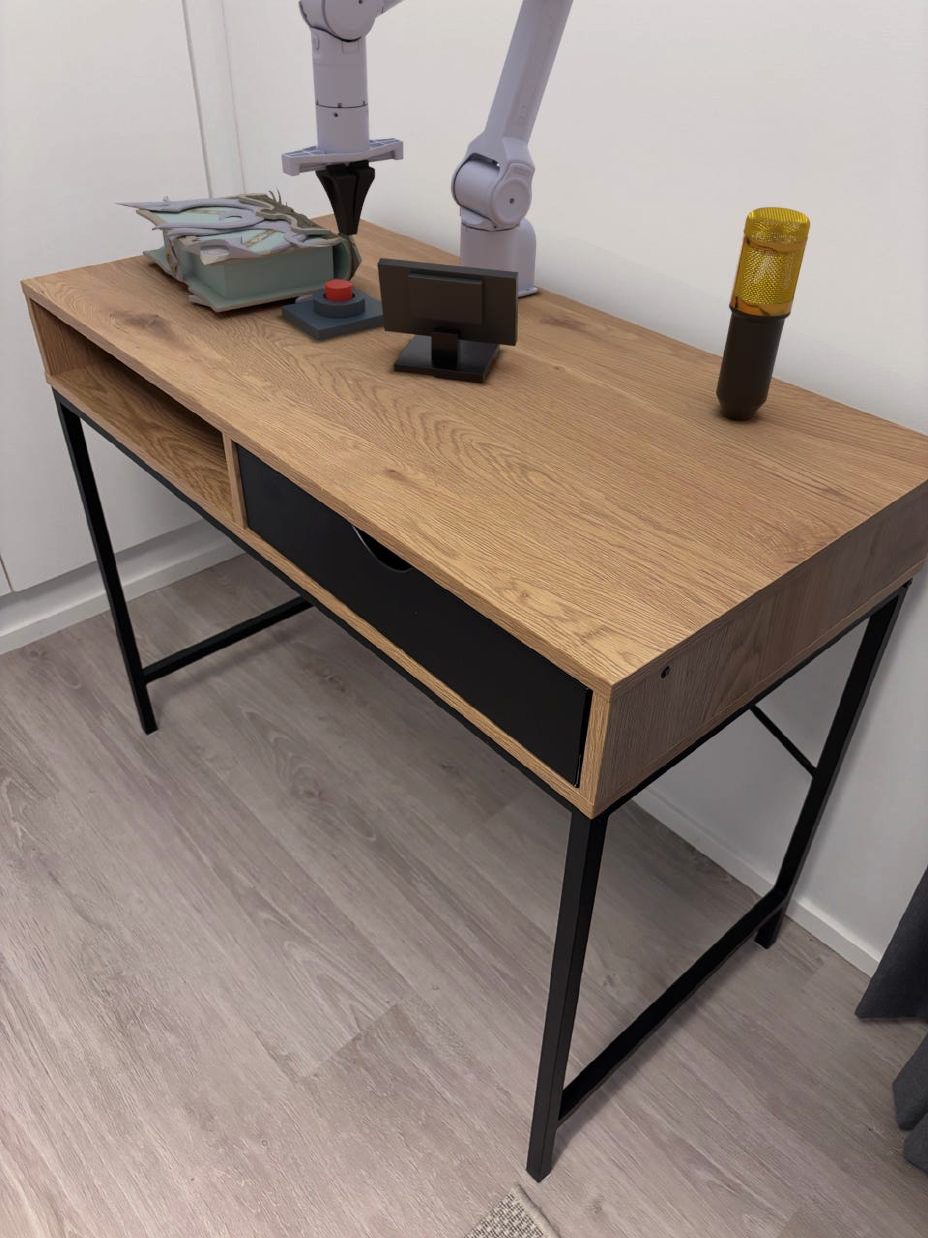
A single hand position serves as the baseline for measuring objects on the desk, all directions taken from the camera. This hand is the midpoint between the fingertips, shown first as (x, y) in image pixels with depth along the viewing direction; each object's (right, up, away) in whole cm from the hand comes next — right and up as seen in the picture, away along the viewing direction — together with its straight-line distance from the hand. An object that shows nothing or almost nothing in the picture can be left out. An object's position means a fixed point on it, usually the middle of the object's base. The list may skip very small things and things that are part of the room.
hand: (347, 232), depth 116 cm
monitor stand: (+12, -16, -3) cm, 20 cm away
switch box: (-2, -8, +6) cm, 10 cm away
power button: (-1, -6, +4) cm, 8 cm away
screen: (+12, -13, -5) cm, 19 cm away
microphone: (+40, -22, -10) cm, 46 cm away
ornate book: (-16, 0, +17) cm, 23 cm away
